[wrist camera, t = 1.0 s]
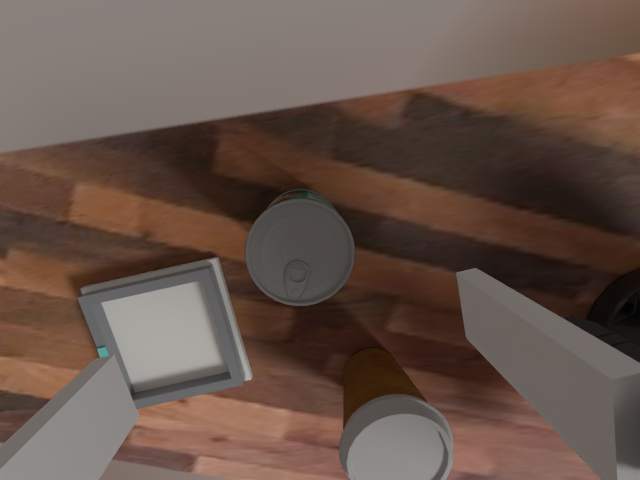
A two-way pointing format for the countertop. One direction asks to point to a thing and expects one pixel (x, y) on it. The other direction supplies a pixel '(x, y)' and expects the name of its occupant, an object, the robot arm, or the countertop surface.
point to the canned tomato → (300, 249)
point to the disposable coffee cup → (390, 424)
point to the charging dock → (169, 331)
